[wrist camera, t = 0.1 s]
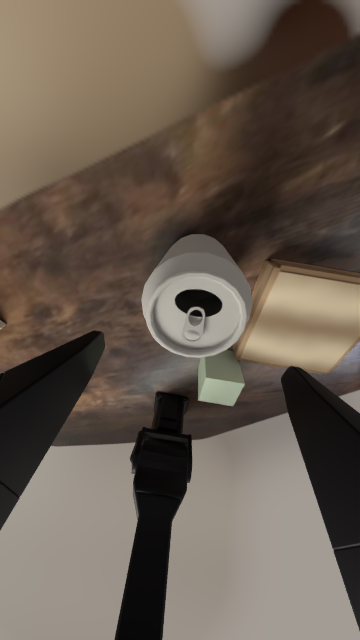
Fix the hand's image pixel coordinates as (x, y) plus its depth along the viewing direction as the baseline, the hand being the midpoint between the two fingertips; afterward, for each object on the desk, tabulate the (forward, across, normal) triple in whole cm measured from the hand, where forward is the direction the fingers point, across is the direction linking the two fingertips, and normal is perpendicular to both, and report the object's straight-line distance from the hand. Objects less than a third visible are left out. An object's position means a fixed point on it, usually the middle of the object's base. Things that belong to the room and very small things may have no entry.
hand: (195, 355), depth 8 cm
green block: (+15, -6, +14) cm, 21 cm away
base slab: (+15, -14, +4) cm, 21 cm away
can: (+15, 0, 0) cm, 15 cm away
